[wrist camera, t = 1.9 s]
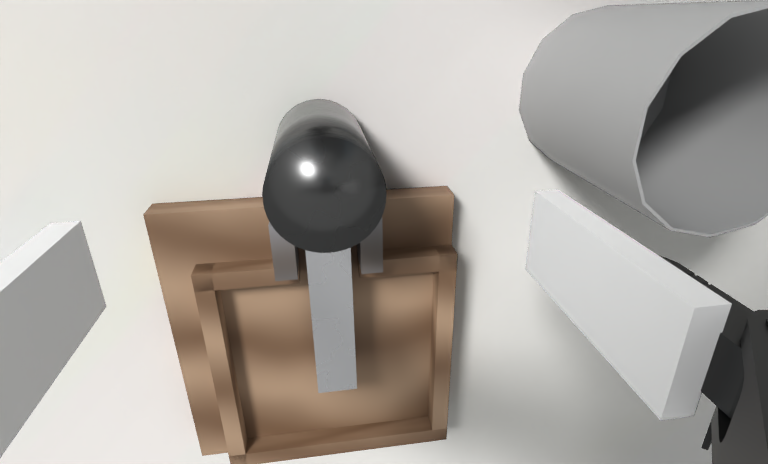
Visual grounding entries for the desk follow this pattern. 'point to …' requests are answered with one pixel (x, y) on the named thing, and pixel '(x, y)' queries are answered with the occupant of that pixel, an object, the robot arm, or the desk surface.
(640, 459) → the desk surface
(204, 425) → the dock
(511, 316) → the desk surface
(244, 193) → the desk surface
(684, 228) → the cup
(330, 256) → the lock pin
